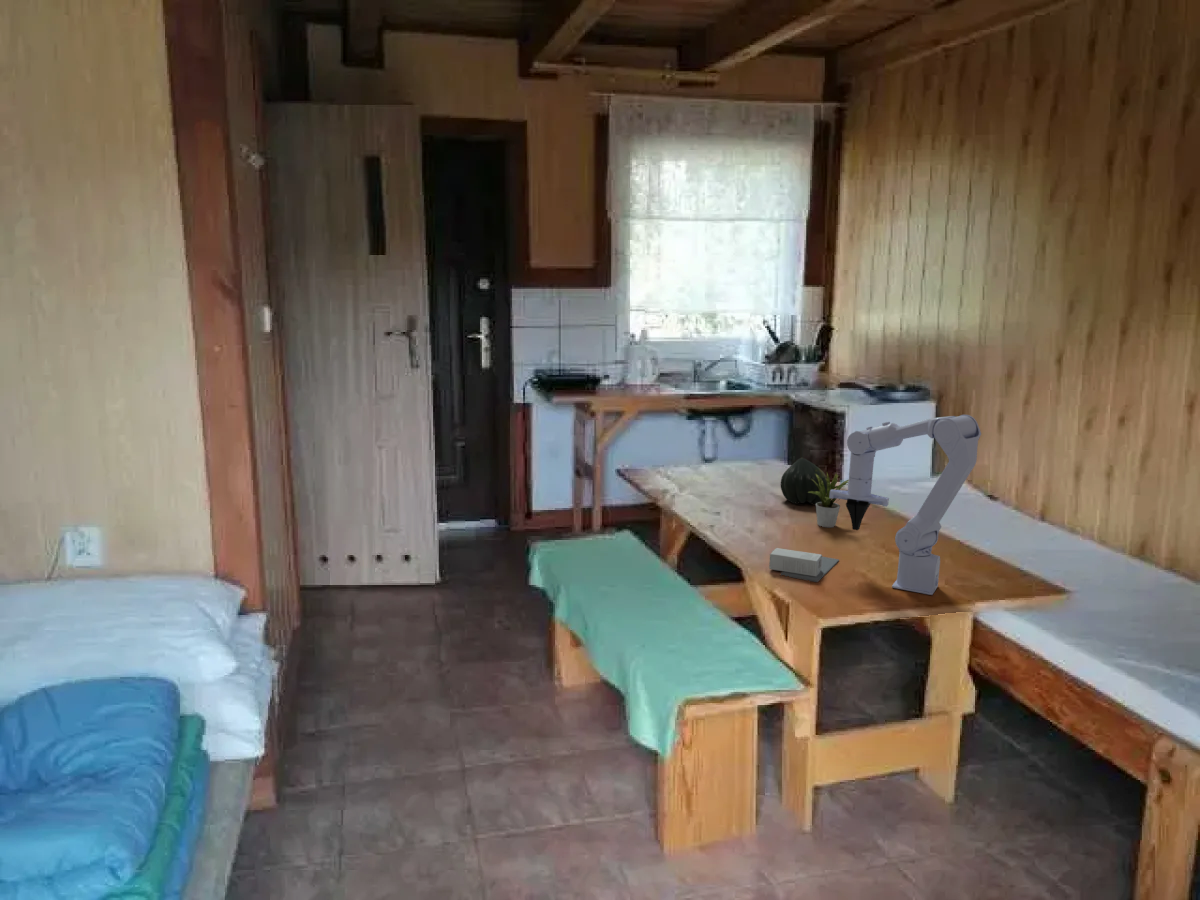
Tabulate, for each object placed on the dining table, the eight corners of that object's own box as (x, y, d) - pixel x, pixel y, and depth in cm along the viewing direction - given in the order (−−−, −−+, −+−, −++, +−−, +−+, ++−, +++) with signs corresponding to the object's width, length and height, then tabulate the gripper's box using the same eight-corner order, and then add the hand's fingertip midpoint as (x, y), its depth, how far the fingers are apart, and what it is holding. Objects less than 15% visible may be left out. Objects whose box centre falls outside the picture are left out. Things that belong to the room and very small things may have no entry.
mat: (839, 560, 245) (839, 559, 245) (817, 582, 229) (817, 580, 228) (803, 554, 250) (803, 553, 250) (780, 575, 233) (780, 573, 233)
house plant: (853, 535, 269) (858, 480, 265) (804, 531, 271) (809, 476, 268) (850, 521, 282) (855, 469, 279) (804, 517, 285) (808, 465, 282)
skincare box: (822, 570, 236) (775, 563, 241) (822, 553, 235) (776, 547, 241) (816, 577, 231) (768, 570, 236) (816, 560, 230) (769, 553, 235)
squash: (824, 495, 291) (828, 454, 298) (776, 492, 296) (781, 451, 303) (826, 515, 303) (830, 475, 310) (780, 512, 307) (785, 473, 314)
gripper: (893, 478, 235) (888, 529, 238) (836, 470, 242) (832, 520, 245) (886, 483, 229) (882, 536, 232) (828, 475, 236) (824, 527, 239)
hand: (856, 529), depth 238 cm, fingers closed
